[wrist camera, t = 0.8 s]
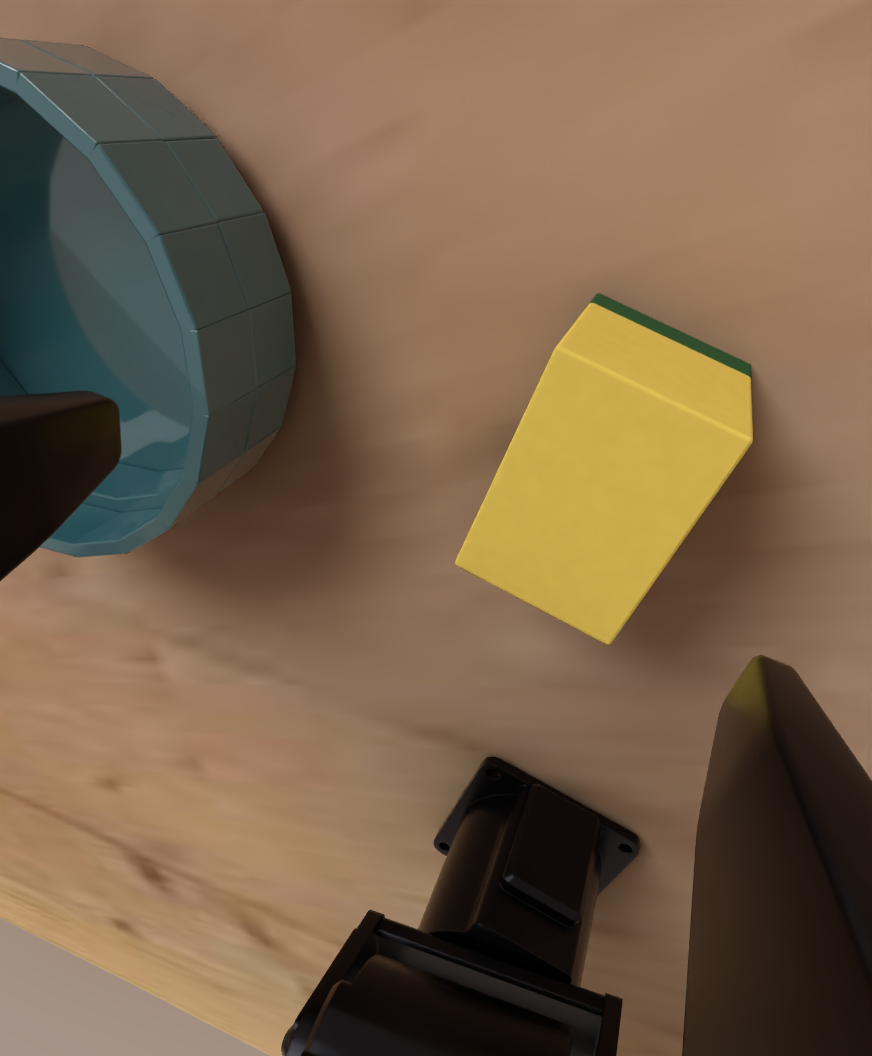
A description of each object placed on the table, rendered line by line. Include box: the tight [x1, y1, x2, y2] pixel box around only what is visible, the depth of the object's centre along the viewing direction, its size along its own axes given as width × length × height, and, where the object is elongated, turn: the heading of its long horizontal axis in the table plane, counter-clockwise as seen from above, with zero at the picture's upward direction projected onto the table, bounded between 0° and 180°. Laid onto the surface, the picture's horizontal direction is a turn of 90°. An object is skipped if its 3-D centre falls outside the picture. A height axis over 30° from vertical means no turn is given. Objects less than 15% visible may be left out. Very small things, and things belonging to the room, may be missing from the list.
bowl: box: [0, 38, 296, 557], centre depth 21 cm, size 14×14×5 cm
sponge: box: [456, 294, 753, 645], centre depth 18 cm, size 6×4×5 cm
